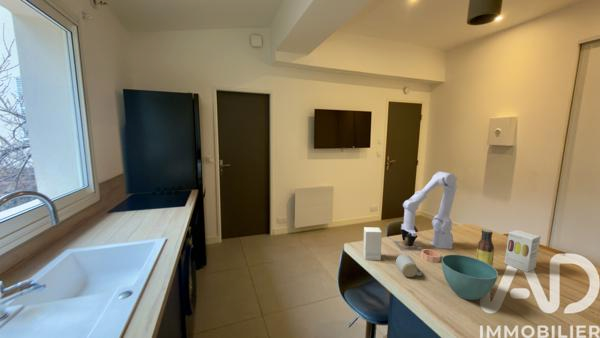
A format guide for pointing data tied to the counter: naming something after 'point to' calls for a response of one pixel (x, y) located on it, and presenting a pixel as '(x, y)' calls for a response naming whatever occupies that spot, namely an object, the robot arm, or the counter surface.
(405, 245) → the lid
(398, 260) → the ceramic mug
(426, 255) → the bowl
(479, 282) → the deep teal bowl
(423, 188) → the robot arm
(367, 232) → the skincare box
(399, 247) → the mat
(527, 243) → the supplement box
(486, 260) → the sauce bottle
